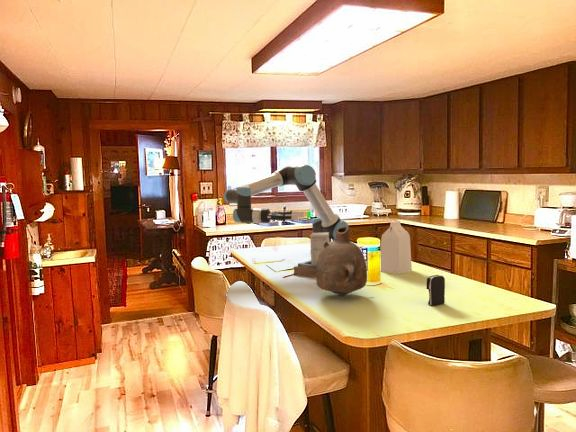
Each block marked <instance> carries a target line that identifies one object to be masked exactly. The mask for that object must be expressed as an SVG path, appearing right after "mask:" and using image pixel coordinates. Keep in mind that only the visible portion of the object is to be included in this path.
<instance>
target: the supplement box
mask: <svg viewBox="0 0 576 432" xmlns="http://www.w3.org/2000/svg"><path fill="white" fill-rule="evenodd" d="M309 237H310V238H309V239H310V260H311V265H317V260H318V256H319V254H320V252H321V250H322V248H323V247H324V243H325V241H327V243H329V232H324V233H313V232H311V233H310V236H309Z"/></svg>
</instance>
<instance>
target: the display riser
mask: <svg viewBox="0 0 576 432" xmlns="http://www.w3.org/2000/svg"><path fill="white" fill-rule="evenodd" d="M316 266H317V265H311V259H310V260H306V261H303V262H299V263H297V265H295V266H293V274H294V275H298V276H304V277H309V278H314V279H316Z"/></svg>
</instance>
